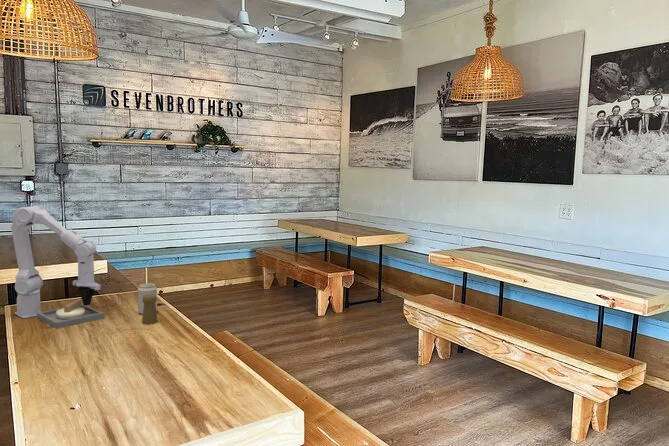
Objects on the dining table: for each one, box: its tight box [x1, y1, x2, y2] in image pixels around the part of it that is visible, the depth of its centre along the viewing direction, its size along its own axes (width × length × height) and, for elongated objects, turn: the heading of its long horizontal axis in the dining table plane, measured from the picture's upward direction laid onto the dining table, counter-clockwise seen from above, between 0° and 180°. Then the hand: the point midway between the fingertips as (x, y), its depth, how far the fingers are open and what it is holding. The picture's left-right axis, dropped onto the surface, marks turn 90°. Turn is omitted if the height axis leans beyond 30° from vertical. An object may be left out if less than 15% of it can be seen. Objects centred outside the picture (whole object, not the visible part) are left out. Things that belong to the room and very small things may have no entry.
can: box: [137, 282, 158, 315], centre depth 209 cm, size 8×8×12 cm
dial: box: [56, 298, 85, 319], centre depth 200 cm, size 10×13×4 cm
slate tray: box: [36, 305, 105, 329], centre depth 199 cm, size 18×18×2 cm
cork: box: [141, 294, 159, 325], centre depth 197 cm, size 6×6×11 cm
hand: (86, 304), depth 203 cm, fingers closed
